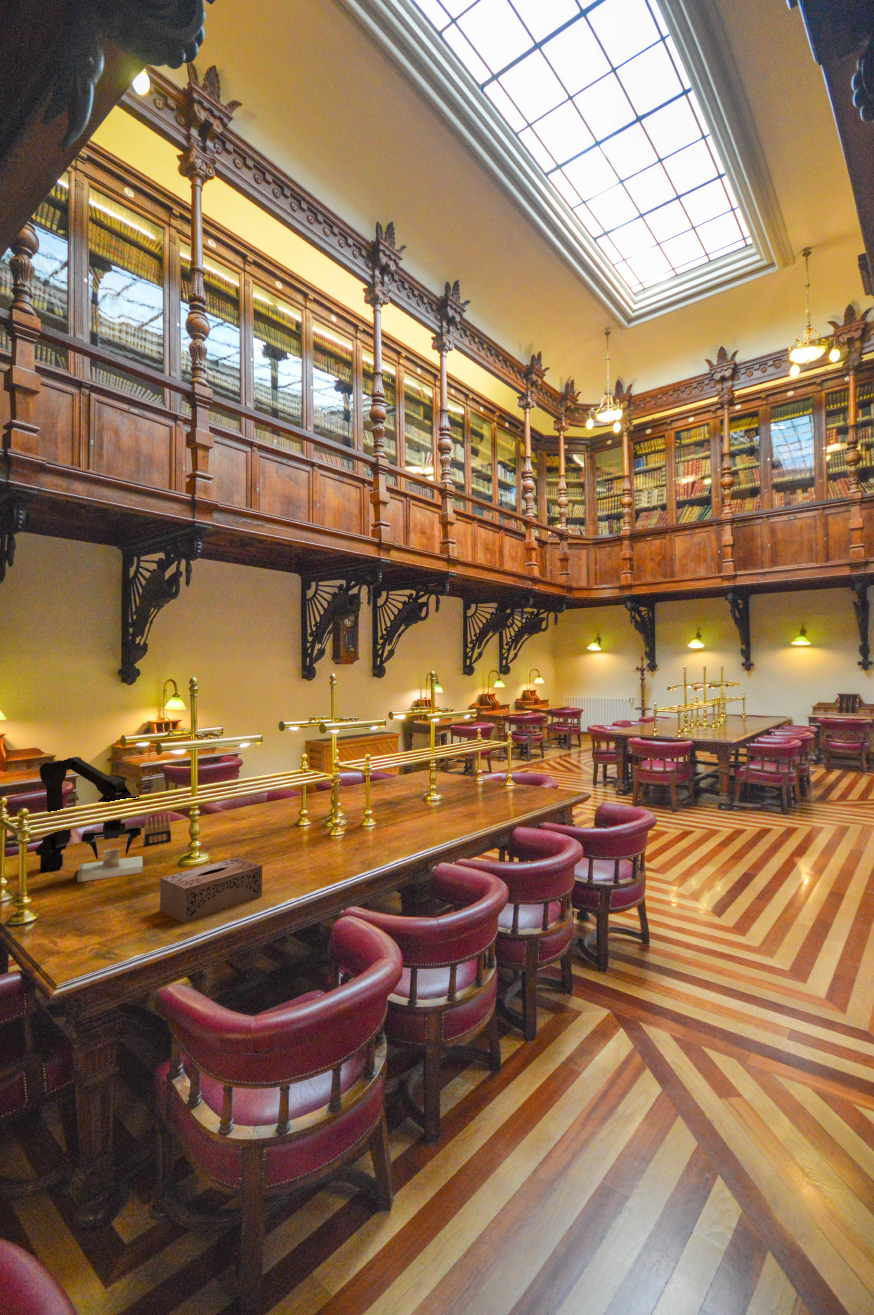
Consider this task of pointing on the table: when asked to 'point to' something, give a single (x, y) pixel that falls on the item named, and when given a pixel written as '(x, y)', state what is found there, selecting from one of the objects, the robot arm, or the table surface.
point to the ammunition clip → (157, 836)
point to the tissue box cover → (210, 889)
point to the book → (110, 869)
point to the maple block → (111, 858)
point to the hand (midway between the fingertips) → (111, 857)
